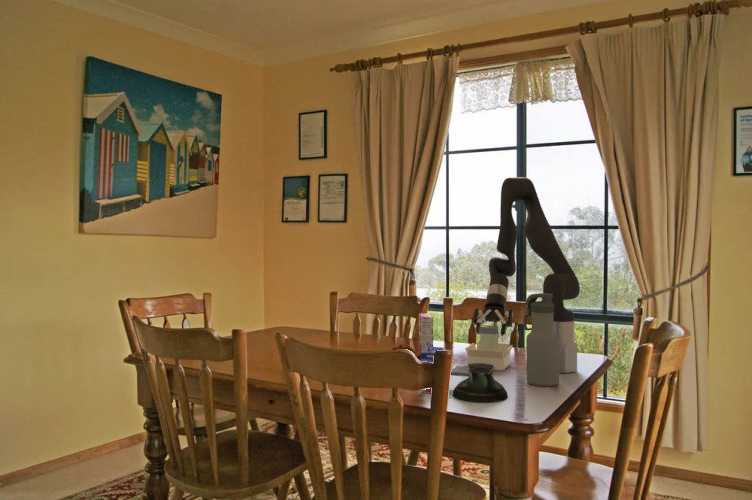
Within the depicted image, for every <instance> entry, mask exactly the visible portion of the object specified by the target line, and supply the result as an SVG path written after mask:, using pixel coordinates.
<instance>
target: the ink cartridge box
mask: <svg viewBox="0 0 752 500" xmlns="http://www.w3.org/2000/svg"><path fill="white" fill-rule="evenodd" d="M428 344H430V346H428ZM426 345H427V348H426V349H425V350H423V351H422V352H421V353H420V352H419V360H420V361H427V362H433V356H434V352H435V351H437V350H444V349H445V348H444V347H441V346H440V347H439V346H433V347H432V345H431V343H430V342H429V341H428V342H426ZM444 351H445V350H444ZM420 361H419V362H420ZM421 393H422V394H431V388H430V389H426V390H422V391H421Z"/></svg>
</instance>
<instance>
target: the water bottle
mask: <svg viewBox="0 0 752 500" xmlns="http://www.w3.org/2000/svg"><path fill="white" fill-rule="evenodd" d="M539 298H541V300H538V299H539ZM551 298H553V294H546V293H543V292H539V293H532V294H530V295H528V297H526V300H525V309H527V313H526V314H525V315H524V316H523V328H524V329H523V330H524V331H530V332H529V333H528V334H527V336H526V338H525V339H526V340H525V342H526V347H525V348H526V351H525V352H526V382H527V383H528V384H529V385H531V386H535V387H544V388H545V387H555V386H557V385H559V383H560V373H559V338H558V336H557V335H556V334H555V333H554V332H553V314H554V308H553V307H554V304H553V303H552V300H551ZM528 317H531V327H528V326H527V325H528V324H527V319H528Z"/></svg>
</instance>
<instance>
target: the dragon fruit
mask: <svg viewBox="0 0 752 500" xmlns="http://www.w3.org/2000/svg"><path fill="white" fill-rule="evenodd" d="M397 349H408V350H410V351H412V352H413V353H414V354H415V355H416V352H415V350H414V349H413V348H412V347H411V346H409V345H408V344H407V343H403V344H401V343H398V344H397V346H395V347H392V348H391V350H397Z"/></svg>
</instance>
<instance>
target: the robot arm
mask: <svg viewBox="0 0 752 500" xmlns="http://www.w3.org/2000/svg"><path fill="white" fill-rule="evenodd" d="M520 202H521V203H523V205H524V208H525V210H526V213H527V215H526V220H525V225H524V235H525V238H526V239H527V242H528V244H529V247H530V248H531V249H532V251H533V252H534V253H535V254H536V255H537V256H538V257H539V258H540V259H541V260H542V261H544V262H545V263H546V264H547V265H548V266H549V267H550V269H551V271H552V272H553V273H549V274H547V275H546V276H545V277H544V281H543V282H542V283H543V284H542V293H546V294H553V298H551V300H552V303H553V304H554V307H553V308H554V314H553V332H554V333H555V334H556V335H557V336H558V338H559V374H569V373H575V372H578V343H576V342H575V313H574V311H572V310H570V309H567V308H566V307H565V306H564V305H565V303H564V301H567V300H568V301H569V300H570V301H571V300H575V299H576V298H577V297H578V296H579V295H580V291H581V289H580V288H581V287H580V286H581V285H580V281H579V280H578V277H577V275H576V274H575V272H574V270H573V268H572V267H571V265H570V264H569V262H568V261H567V259H566V257H565V255H564V253H563V251H562V249H561V247H560V245H559V242H558V241H557V239H556V236H555V233H554V231H553V230H552V228H551V225H550V223H549V221H548V219H547V217H546V214H545V212H544V210H543V207H542V205H541V202H540V198H539V196H538V193H537V191H536V187H535V184H534V183H533V181H532V180H531V178H529V177H525V176H524V177H523V176H520V177H519V176H518V177H517V176H513V177H507V178H505V179H504V180H503V182H502V185H501V190H500V209H499V211H500V212H499V213H500V215H499V216H500V217H499V218H500V220H499V221H500V224H499V231H498V239H497V243H496V251H497V252H498V253H499V254H501V255H504V256H506V258H505V257H501V256H492V257H491V258H490V259H489V261H488V270H489V279H490V281H489V284H488V285H489V286H488V290H487V293H486V297H485V302H484V308H483V309H482V310H481V309H479V307H478V308H477V307H476V308H475V309H474V313H473V316H472V323H473V325H474V326H475V332H476V334H477V335H480V327H481V326H483V325H485V324H486V323H488V322H490V323H493V322H494V323H498V322H499V324H500V325H501V327H500V328H501V329H500V336H502V337H503V336H504V335H506V332H507V328H508V327H510V328H511V327H513V320H514V312H513V310H512V309H509V310H508V311H507V310H506V306H507V300H508V290H509V282H510V281H509V277H512V276H514V275H515V273H516V270H517V265H516V257H515V256H516V255H515V254H516V252H515V251H516V245H517V239H518V228H517V225H516V222H515V219H514V217H513V205H514V203H520ZM505 316H506V317H507V321H506V320H505V318H504V317H505Z"/></svg>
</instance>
